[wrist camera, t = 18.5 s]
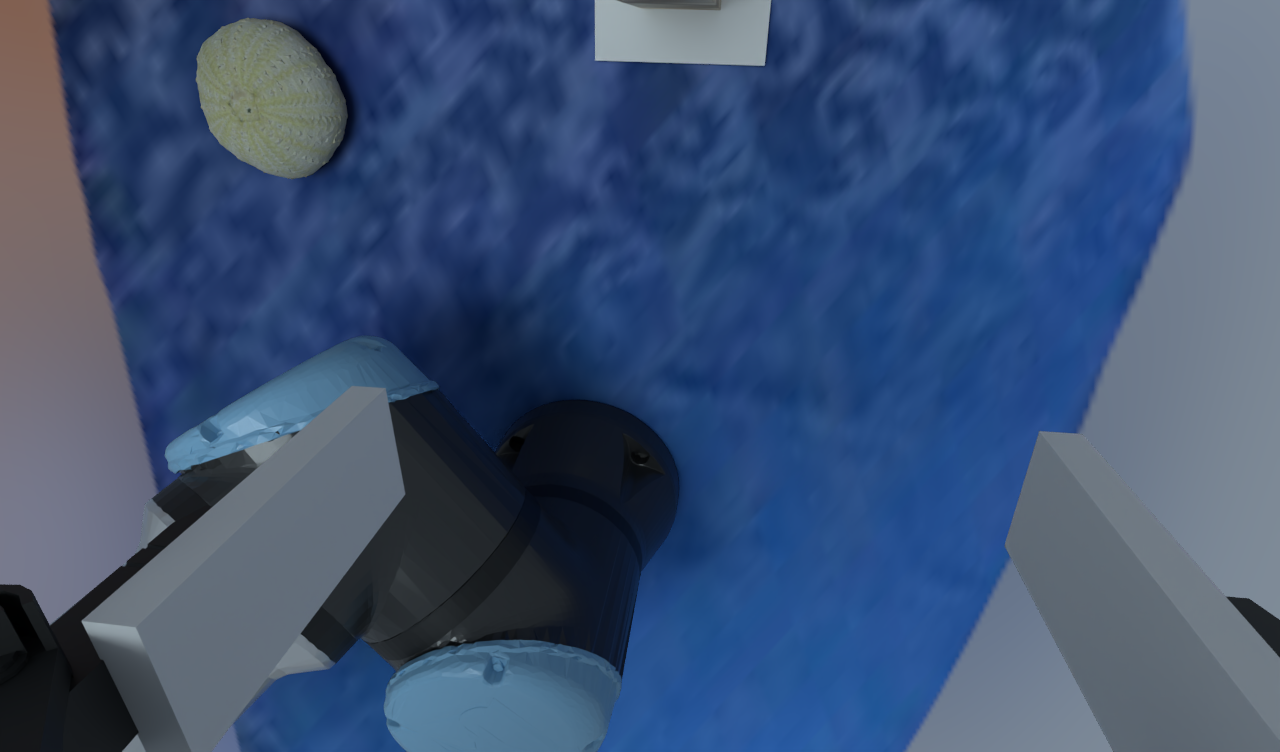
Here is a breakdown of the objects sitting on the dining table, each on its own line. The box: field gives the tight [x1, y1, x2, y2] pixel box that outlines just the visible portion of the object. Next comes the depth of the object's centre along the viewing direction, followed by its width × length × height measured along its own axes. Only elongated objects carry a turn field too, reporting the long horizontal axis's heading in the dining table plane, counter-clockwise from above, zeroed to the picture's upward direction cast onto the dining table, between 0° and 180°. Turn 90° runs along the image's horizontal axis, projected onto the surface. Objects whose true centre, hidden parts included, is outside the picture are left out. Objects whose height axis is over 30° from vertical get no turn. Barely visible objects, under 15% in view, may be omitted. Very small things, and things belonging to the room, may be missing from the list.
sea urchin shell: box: [196, 18, 348, 179], centre depth 43 cm, size 9×8×8 cm
